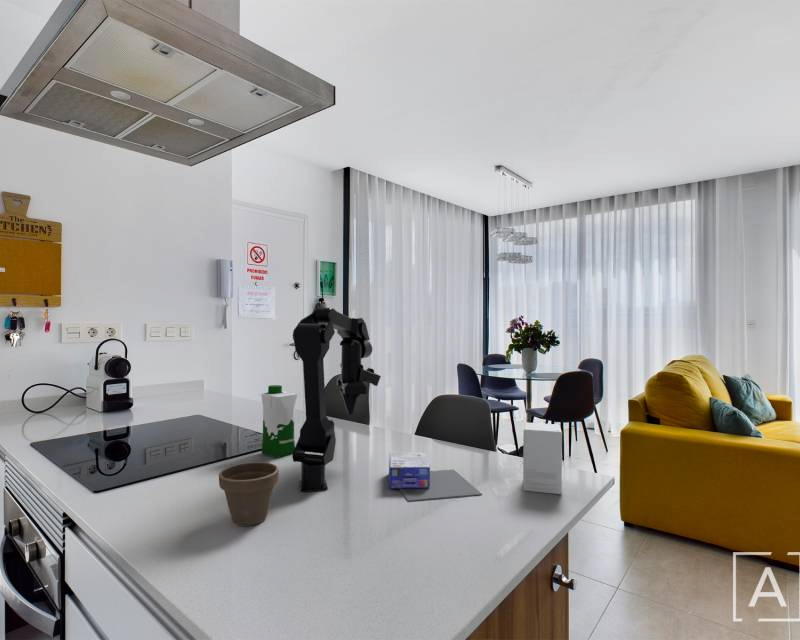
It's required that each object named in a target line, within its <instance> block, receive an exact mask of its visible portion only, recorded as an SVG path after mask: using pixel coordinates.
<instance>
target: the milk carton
mask: <svg viewBox="0 0 800 640" xmlns="http://www.w3.org/2000/svg"><path fill="white" fill-rule="evenodd" d="M267 390H268V391H267V392H264V393H260V395H261V402H262V442H261V443H262V444H261V454H262V455H265V456H269V457H272V458H274V459H275V458H276V459H277V458H278V459H279V458H281V457H285V456H288V455H292V454H293V451H294V449H295V447H296V443H295V442H296V441H295V412H296V411H295V409H296V407H295V406H296V401H297V399H298V395H299V394H298V393H296V392H295V393H293V392H292V391H291V392H290V391H284V390H283V386H282V385H278V384H275V385H274V384H273V385H268V389H267Z"/></svg>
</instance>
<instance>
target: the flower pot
mask: <svg viewBox="0 0 800 640" xmlns="http://www.w3.org/2000/svg"><path fill="white" fill-rule="evenodd" d="M279 474H280V469H279V467H278V465H276V464H275V463H270V462H266V461H265V462H264V461H254V462H252V461H251V462H243V463H238V464H235V465H231V466H227V467H226V468H224V469H222V470H220V472H219V473H218V485H219V488H220V489H221V490H223V491H224V494H225V495H224V496H225V498H226V503H227V507H228V511H229V514H230V517H231V520H232V522H233V524H235V525H237V526H239V527H240V526H241V527H250V526H255V525H258V524H260V523H262V522H264V521H265V520H266V518H267V517H268V512H269V509H270V504H271V500H272V495H273V491H274V487H275V485H276V484H277V483H278V482H279V480H280V479H279V478H280V475H279Z"/></svg>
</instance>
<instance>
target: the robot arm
mask: <svg viewBox="0 0 800 640" xmlns="http://www.w3.org/2000/svg"><path fill="white" fill-rule="evenodd" d="M335 330H336V331H335ZM335 333H337V334H338V336H340V338H341V339H342V340H341V341H340V342H339V346H341V362H340V366H339V367H340V368H341V369H340V370H341V372H340V375H339V376H338V377H337V378H336V386H337V387H340V386H341V388H339V389H338V390H339V393H340V395H341V398H342V401H343V403H344V406H345V409H346V412H347V414H348V415H352V416H353V414H354V410H355V406H356V404H357V403H356V402H357V399H358V397H359V396H360V395H367V394H368V386H367V385H365V383H364V382H366V383H367V384H368V383H369V384H371V385H373V386H375V387H378V385H379V383H380V379H381V377H382V376H381V375H379V374H377V373H376V372H375V369H373V368H371V367H367V369H364V365H363V364H362V359H365V358H368V357H370V356H371V355H372V353H373V346H372V344H371V342H370V335H369V331H368V326H367V324H366V322H365V320H364V319H363V317H349V316H347V315H346V314H343V313H341V312H339V311H337V310H336V309H335V308H333V307H316V308H314V309H313V311H312V312H311V313H310V314H309V315H307V316H305V317H304V318H302V319H301V320H299V322H298V324H297V325H296V326H295V328H294V329H293V332H292V340H293V344H294V350H295V352H296V353H297V355H298V357H299V358H300V360H301V361H302V370H303V388H304V403H305V404H304V405H305V408H304V409H305V421H304V422H303V424H302V426H301V427H300V429H299V437H298V439H297V442H296V443H295V449H294V451H293V453H292V454H291V455H292V461H293V463H294V462H295V463H296V462H297V463H301V466H300V468H301V470H300V472H301V473H300V480H298V486H299V492H300V493H301V492H312V491H325V490H328V489H329V488H328V487H329V486H328V484H327V480H326V465H328V464H329V463H330V462H332V461H333V460H334V455H335V449H336V442H337V440H336V439H337V438H336V432H335V422H334V420H333V419H329V418H328V416H327V409H326V408H327V406H326V388H325V386H326V385H325V384H326V383H325V368H324V366H325V365H324V358H326V357H325V356H326V355H327V353H328V351H329V349H330V344H331V343H330V342H331V340H332V339H333V337H334V335H335Z"/></svg>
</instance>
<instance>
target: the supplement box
mask: <svg viewBox="0 0 800 640" xmlns="http://www.w3.org/2000/svg"><path fill="white" fill-rule="evenodd" d="M522 439H523V444H522V446H523V447H522V449H523V451H522V452H523V454H522V455H523V456H522V457H523V458H522V461H523V462H522V467H523V468H522V471H523V472H522V474H523V476H522V478H523V479H522V481H523V482H522V484H523V485H522V486H523V487H522V488H523V491H524V492H533V493H535V492H536V493H543V494H544V493H545V494H553V495H562V494H563V493H562V491H563V490H562V487H563V485H562V483H563V482H562V481H563V480H562V478H563V469H562V468H563V431H562V429H561V426H560V424H558V423H557V424H556V423H553V424H552V423H540V422H527V421H525V422H524V425H523V438H522Z"/></svg>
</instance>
